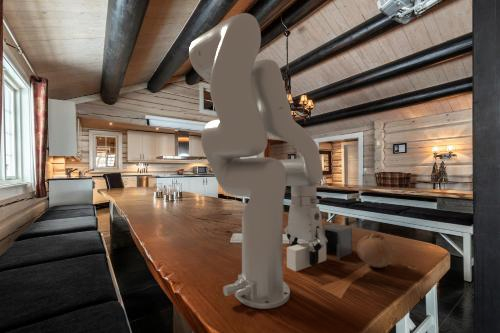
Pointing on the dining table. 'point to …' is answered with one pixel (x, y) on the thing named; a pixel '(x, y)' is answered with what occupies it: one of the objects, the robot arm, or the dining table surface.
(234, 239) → the baseboard molding
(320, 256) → the rectangular block
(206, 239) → the dining table surface
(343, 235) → the end cap
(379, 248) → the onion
